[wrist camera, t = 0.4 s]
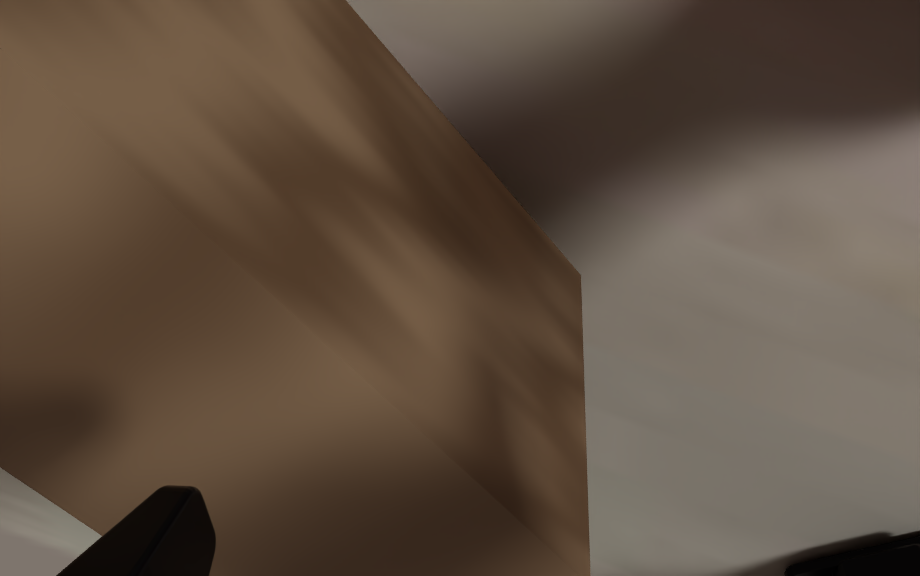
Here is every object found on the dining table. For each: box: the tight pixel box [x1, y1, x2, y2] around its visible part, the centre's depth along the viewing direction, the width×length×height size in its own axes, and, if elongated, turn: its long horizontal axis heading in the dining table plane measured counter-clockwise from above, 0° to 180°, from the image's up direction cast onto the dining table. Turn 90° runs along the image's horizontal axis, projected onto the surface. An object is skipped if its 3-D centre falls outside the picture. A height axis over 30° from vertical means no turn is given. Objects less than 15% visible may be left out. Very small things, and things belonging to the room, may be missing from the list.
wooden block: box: [0, 0, 590, 576], centre depth 18 cm, size 15×7×10 cm, turn 39°
